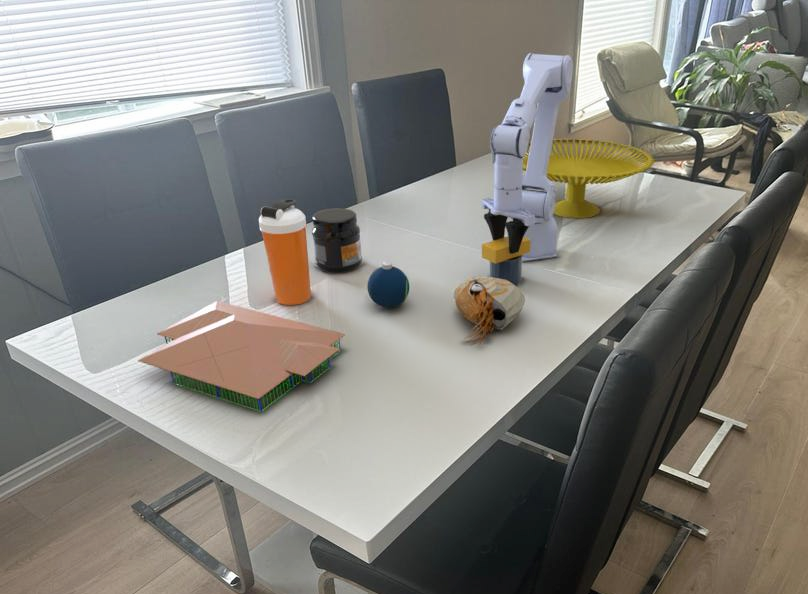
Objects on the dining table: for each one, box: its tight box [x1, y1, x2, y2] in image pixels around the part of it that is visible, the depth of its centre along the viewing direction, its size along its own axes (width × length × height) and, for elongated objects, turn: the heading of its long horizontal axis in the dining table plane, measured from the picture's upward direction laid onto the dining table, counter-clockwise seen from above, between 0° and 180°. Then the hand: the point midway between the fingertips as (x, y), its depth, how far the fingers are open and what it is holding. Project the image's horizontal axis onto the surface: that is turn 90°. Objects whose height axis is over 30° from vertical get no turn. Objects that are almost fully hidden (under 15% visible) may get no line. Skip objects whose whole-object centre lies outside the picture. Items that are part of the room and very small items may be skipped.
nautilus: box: [453, 276, 526, 347], centre depth 132 cm, size 8×22×15 cm
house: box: [137, 300, 346, 413], centre depth 119 cm, size 23×33×8 cm
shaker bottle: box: [258, 198, 312, 306], centre depth 138 cm, size 9×9×20 cm
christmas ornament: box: [366, 260, 410, 309], centre depth 138 cm, size 8×8×10 cm
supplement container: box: [311, 207, 363, 274], centre depth 155 cm, size 10×10×12 cm
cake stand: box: [523, 138, 655, 219], centre depth 189 cm, size 40×40×15 cm
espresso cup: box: [488, 255, 523, 286], centre depth 150 cm, size 7×7×6 cm
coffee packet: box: [481, 235, 531, 264], centre depth 148 cm, size 10×4×3 cm, turn 130°
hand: (506, 248), depth 148 cm, fingers closed on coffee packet, 4 cm apart
